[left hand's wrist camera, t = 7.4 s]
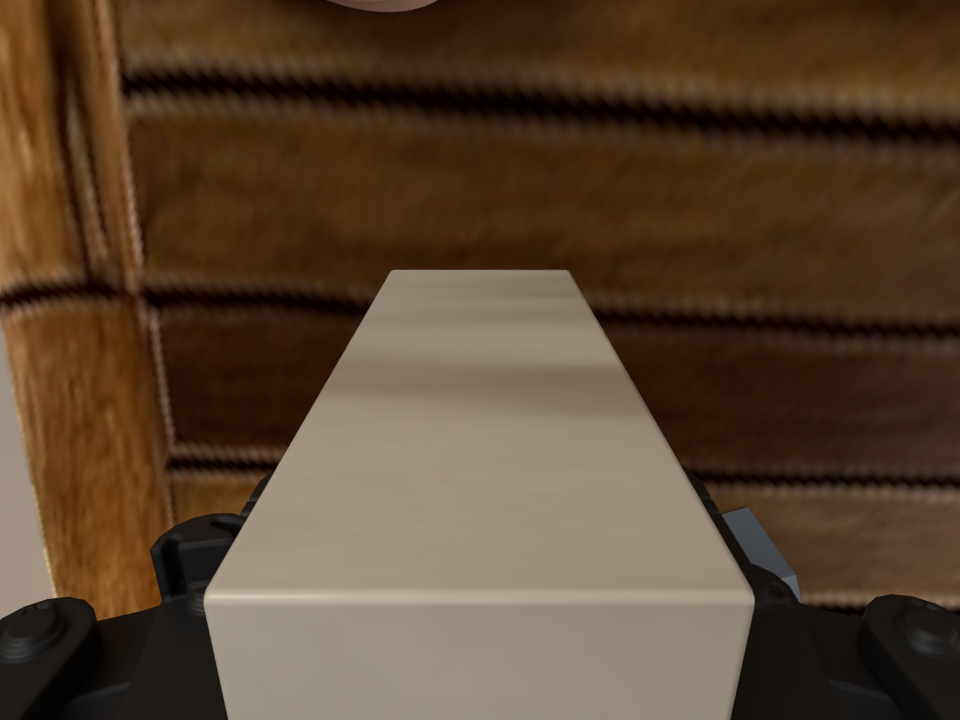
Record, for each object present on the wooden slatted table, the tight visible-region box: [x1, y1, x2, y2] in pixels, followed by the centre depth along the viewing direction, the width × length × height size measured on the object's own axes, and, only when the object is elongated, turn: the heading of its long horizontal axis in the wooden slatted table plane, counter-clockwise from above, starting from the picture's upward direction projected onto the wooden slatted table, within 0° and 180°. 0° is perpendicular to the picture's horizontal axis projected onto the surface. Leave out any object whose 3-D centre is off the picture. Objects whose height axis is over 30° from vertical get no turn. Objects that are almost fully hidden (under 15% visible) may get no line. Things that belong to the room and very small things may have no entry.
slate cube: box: [721, 507, 802, 603], centre depth 29 cm, size 5×5×5 cm
